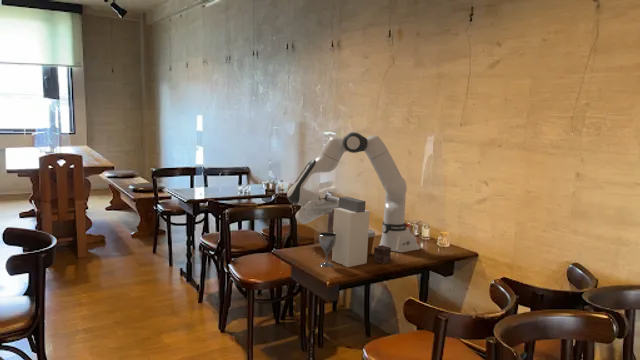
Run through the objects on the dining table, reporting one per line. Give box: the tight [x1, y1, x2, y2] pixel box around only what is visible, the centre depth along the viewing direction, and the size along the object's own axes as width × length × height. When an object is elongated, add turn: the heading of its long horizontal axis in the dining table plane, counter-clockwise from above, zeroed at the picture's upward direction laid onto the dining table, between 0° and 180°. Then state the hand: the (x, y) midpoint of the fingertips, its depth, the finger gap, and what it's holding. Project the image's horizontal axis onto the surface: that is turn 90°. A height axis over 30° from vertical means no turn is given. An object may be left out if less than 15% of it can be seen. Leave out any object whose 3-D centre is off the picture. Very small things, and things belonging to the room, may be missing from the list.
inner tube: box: [324, 194, 340, 204], centre depth 244 cm, size 23×3×3 cm, turn 38°
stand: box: [331, 196, 370, 268], centre depth 240 cm, size 14×12×31 cm
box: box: [373, 244, 392, 265], centre depth 244 cm, size 6×6×7 cm
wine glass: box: [318, 231, 336, 268], centre depth 235 cm, size 8×8×15 cm
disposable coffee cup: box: [367, 229, 376, 256], centre depth 256 cm, size 10×10×12 cm
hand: (331, 199), depth 250 cm, fingers open, 8 cm apart
